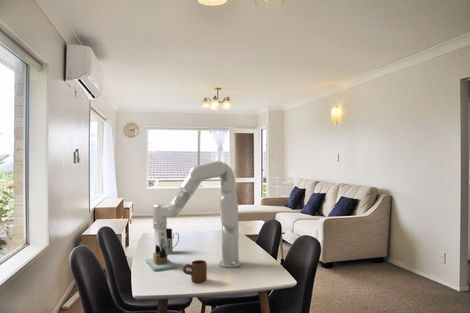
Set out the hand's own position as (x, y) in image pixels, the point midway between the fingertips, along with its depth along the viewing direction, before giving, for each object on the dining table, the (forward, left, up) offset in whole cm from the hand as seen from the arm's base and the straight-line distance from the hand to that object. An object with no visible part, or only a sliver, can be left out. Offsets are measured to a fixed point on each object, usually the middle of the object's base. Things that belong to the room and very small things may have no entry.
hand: (160, 255), depth 202 cm
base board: (0, 0, -6) cm, 6 cm away
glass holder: (+22, -12, -6) cm, 26 cm away
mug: (-35, -8, -6) cm, 36 cm away
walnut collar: (0, 0, -4) cm, 4 cm away
